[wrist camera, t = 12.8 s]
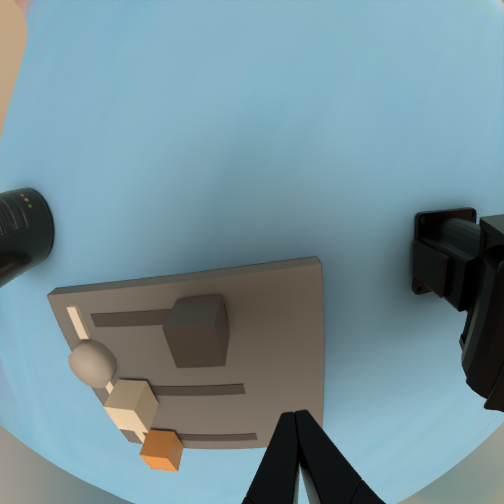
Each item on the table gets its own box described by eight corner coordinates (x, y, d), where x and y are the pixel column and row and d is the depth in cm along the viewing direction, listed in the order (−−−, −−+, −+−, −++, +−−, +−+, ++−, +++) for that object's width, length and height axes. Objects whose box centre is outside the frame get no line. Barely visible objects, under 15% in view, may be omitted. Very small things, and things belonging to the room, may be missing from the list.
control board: (316, 256, 19) (329, 276, 15) (319, 429, 25) (324, 454, 21) (55, 288, 20) (33, 305, 17) (132, 433, 26) (124, 454, 23)
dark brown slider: (221, 294, 18) (214, 323, 14) (230, 332, 18) (225, 366, 15) (177, 298, 18) (161, 327, 14) (188, 336, 19) (176, 368, 15)
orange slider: (174, 431, 23) (167, 458, 19) (183, 446, 23) (177, 471, 20) (148, 429, 23) (139, 454, 19) (158, 444, 24) (151, 468, 20)
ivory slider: (146, 381, 20) (134, 410, 17) (158, 404, 21) (148, 432, 18) (117, 379, 20) (103, 406, 17) (130, 402, 21) (118, 428, 18)
